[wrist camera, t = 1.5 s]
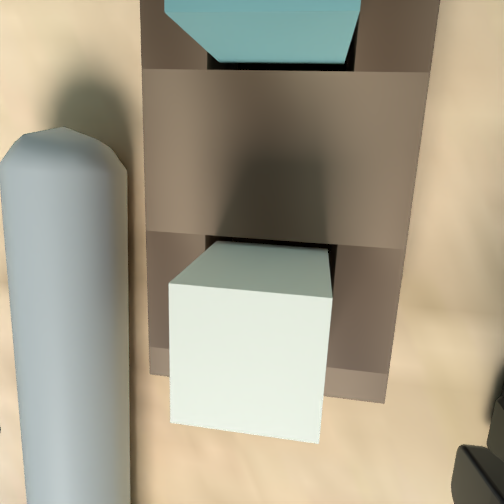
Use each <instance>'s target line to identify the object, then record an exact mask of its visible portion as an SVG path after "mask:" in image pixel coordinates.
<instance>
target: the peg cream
mask: <svg viewBox="0 0 504 504" xmlns="http://www.w3.org/2000/svg"><path fill="white" fill-rule="evenodd" d="M332 299H333V297H332V287H331V278H330V268H329V258H328V249H324V248H310V247H297V246H283V245H270V244H256V243H243V242H229V241H216V242H215V243H214V244H213V245H211V246H210V247H209V248H208V249H207V250H206V251H205V252H203V253H202V254H201V255H200V256H199V257H198V258H197V259H196V260H194V261H193V262H192V263H191V264H190V265H189V266H188V267H186V268H185V269H184V270H183V271H182V272H181V273H180V274H179V275H177V276H176V277H175V278H174V279H173V280H172V281H171V282H169V355H170V423H176V424H183V425H190V426H197V427H204V428H211V429H218V430H225V431H232V432H239V433H246V434H253V435H260V436H267V437H274V438H281V439H288V440H295V441H302V442H309V443H316V444H319V437H320V426H321V416H322V405H323V394H324V384H325V373H326V363H327V352H328V342H329V331H330V321H331V310H332Z"/></svg>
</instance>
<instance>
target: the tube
mask: <svg viewBox="0 0 504 504" xmlns="http://www.w3.org/2000/svg"><path fill="white" fill-rule="evenodd" d="M0 191H1V203H2V215H3V227H4V238H5V250H6V262H7V274H8V285H9V297H10V309H11V321H12V333H13V344H14V356H15V368H16V380H17V391H18V403H19V415H20V427H21V439H22V450H23V462H24V474H25V486H26V497H27V504H130V418H129V314H128V210H127V170H126V169H125V167H124V166H123V165H122V163H121V162H120V160H119V159H118V157H117V156H116V154H115V153H114V152H113V150H112V149H111V148H110V147H108V146H107V145H105V144H104V143H102V142H101V141H99V140H97V139H95V138H92V137H90V136H87V135H84V134H82V133H79V132H77V131H74V130H71V129H69V128H66V127H59V128H54V129H49V130H43V131H38V132H33V133H28V134H24V135H22V136H21V137H20V138H19V139H18V140H17V141H15V142H14V144H13V145H12V147H11V148H10V149H9V151H8V152H7V154H6V155H5V156H4V158H3V159H2V161H1V162H0Z"/></svg>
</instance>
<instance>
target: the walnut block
mask: <svg viewBox="0 0 504 504" xmlns="http://www.w3.org/2000/svg"><path fill="white" fill-rule="evenodd" d="M439 5H440V0H361V5H360V12H359V16H358V19H357V22H356V26H355V29H354V32H353V36H352V39H351V42H350V46H349V49H348V53H347V64H346V71H269V70H238V63H219V62H218V61H217V60H216V59H215V58H214V57H213V56H212V55H211V54H210V53H208V52H207V51H206V50H205V49H204V48H203V47H202V46H201V45H200V44H199V43H198V42H196V41H195V40H194V39H193V38H192V37H191V36H190V35H189V34H188V33H187V32H185V31H184V30H183V29H182V28H181V27H180V26H179V25H178V24H177V23H176V22H174V21H173V20H172V19H171V18H170V17H169V16H168V15H167V14H166V13H165V10H164V0H140V20H141V58H142V96H143V134H144V173H145V211H146V249H147V287H148V325H149V363H150V374H152V375H160V376H168V377H170V355H169V282H171V281H172V280H173V279H174V278H175V277H176V276H177V275H179V274H180V273H181V272H182V271H183V270H184V269H185V268H186V267H188V266H189V265H190V264H191V263H192V262H193V261H194V260H196V259H197V258H198V257H199V256H200V255H201V254H202V253H203V252H205V251H206V250H207V249H208V248H209V247H210V246H211V245H213V244H214V243H215V242H216V241H229V242H233V237H241V238H255V239H268V240H282V241H296V242H310V243H323V244H330V253H329V268H330V278H331V287H332V297H333V299H332V310H331V321H330V331H329V342H328V352H327V363H326V373H325V384H324V394H323V396H327V397H335V398H343V399H351V400H359V401H367V402H375V403H383V404H384V403H385V396H386V389H387V381H388V374H389V367H390V360H391V352H392V345H393V338H394V331H395V323H396V316H397V309H398V302H399V294H400V287H401V280H402V273H403V265H404V258H405V251H406V244H407V236H408V229H409V222H410V215H411V207H412V200H413V193H414V186H415V178H416V171H417V164H418V157H419V149H420V142H421V135H422V128H423V120H424V113H425V106H426V99H427V92H428V84H429V77H430V70H431V63H432V55H433V48H434V41H435V34H436V26H437V19H438V12H439Z"/></svg>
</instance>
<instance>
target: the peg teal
mask: <svg viewBox="0 0 504 504" xmlns="http://www.w3.org/2000/svg"><path fill="white" fill-rule="evenodd" d="M360 5H361V0H164V10H165V13H166V14H167V15H168V16H169V17H170V18H171V19H172V20H173V21H174V22H176V23H177V24H178V25H179V26H180V27H181V28H182V29H183V30H184V31H185V32H187V33H188V34H189V35H190V36H191V37H192V38H193V39H194V40H195V41H196V42H198V43H199V44H200V45H201V46H202V47H203V48H204V49H205V50H206V51H207V52H208V53H210V54H211V55H212V56H213V57H214V58H215V59H216V60H217V61H218V62H219V63H274V64H344V62H345V59H346V56H347V52H348V49H349V46H350V42H351V39H352V36H353V32H354V29H355V26H356V22H357V19H358V16H359V12H360Z"/></svg>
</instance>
